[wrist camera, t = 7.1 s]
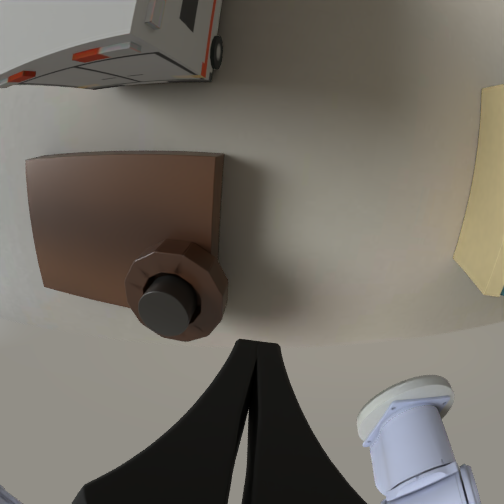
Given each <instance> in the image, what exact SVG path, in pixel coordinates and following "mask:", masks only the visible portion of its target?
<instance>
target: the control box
mask: <svg viewBox="0 0 504 504" xmlns="http://www.w3.org/2000/svg"><path fill="white" fill-rule="evenodd" d="M223 163H224V154H223V153H207V152H185V151H102V152H81V153H66V154H54V155H44V156H40V157H36V158H32V159H28V160H25V165H26V182H27V193H28V203H29V211H30V219H31V225H32V232H33V238H34V243H35V248H36V253H37V258H38V263H39V267H40V272H41V276H42V280H43V284H44V287H47V288H50V289H54V290H58V291H61V292H65V293H69V294H73V295H77V296H81V297H85V298H89V299H93V300H97V301H101V302H106V303H110V304H114V305H119V306H123V307H128V308H131V309H132V311H133V312H134V314H135V315H136V317H137V318H138V319H139V321H140V322H141V323H142V324H143V325H144V326H146V325H145V323H144V322H143V321H142V319H141V317H140V315H139V311H138V303H139V300H140V298H141V297H142V296H143V294H144V293H145V292H146V290H147V289H148V288H149V287H150V285H151V284H152V283H153V281H154V280H155V279H157V278H159V277H161V276H165V275H171V276H176V277H179V278H181V279H183V280H184V281H186V282H187V283H188V284H189V285H190V286H191V287H192V288H193V290H194V292H195V294H196V297H197V307H196V309H195V311H194V314H193V316H192V318H191V320H190V322H189V325H188V327H187V329H186V330H185V331H184V332H183V333H181V334H179V335H177V336H164V335H160V334H158V333H157V334H158V335H160V336H161V337H164V338H169V339H174V340H179V341H184V342H186V341H187V342H188V341H191V340H195V339H199V338H202V337H206V336H208V335H209V334H210V333H211V332H212V331H213V330H214V329H215V327H216V326H217V325H218V324H219V323H220V321H221V320H222V317H223V314H224V311H225V308H226V305H227V298H228V279H227V277H226V275H225V273H224V271H223V270H222V268H221V266H220V264H219V262H218V250H219V229H220V210H221V193H222V177H223ZM146 327H147V326H146ZM147 328H148V327H147ZM149 329H150V328H149ZM155 333H156V332H155Z"/></svg>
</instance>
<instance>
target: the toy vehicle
mask: <svg viewBox="0 0 504 504" xmlns="http://www.w3.org/2000/svg"><path fill="white" fill-rule="evenodd" d="M221 5H222V0H0V88H7V87H9V86H12V85H44V86H61V87H74V88H84V89H93V90H96V89H103V88H110V87H118V86H127V85H137V84H150V83H168V82H211V80H212V71H213V69H219V67H220V65H221V61H222V52H223V46H222V39H221V37H220V36H217V32H218V25H219V18H220V12H221Z"/></svg>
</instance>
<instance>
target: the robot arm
mask: <svg viewBox="0 0 504 504" xmlns="http://www.w3.org/2000/svg"><path fill="white" fill-rule="evenodd" d="M449 400H450V396H449V395H446V396H438V397H429V398H419V399H407V400H395V401H393V402H392V403H391V404H390V405H389V407H388V408H387V410H386V411H385V413H384V414H383V416H382V417H381V419H380V420H379V422H378V423H377V425H376V426H375V427H374V429H373V430H372V431H371V433H370V434H369V436H368V437H367V438H366V440H365V441H364V442H363V444H362V445H363V447H370V453H371V459H372V465H373V472H374V480H375V484H376V487H377V488H378V490H379V491H380V492H381V493H382V494H383V495H385V496H386V499H384V500H383V501H382V502H381V503H380V504H481V501H480V497H479V493H478V490H477V486H476V483H475V479H474V476H473V473H472V470H471V467H470V466H468V465H465V464H463V465H461V466H460V469H459V467H458V465H457V463H456V460H455V457H454V454H453V451H452V448H451V445H450V442H449V439H448V436H447V433H446V431H445V428H444V425H443V422H442V420H441V417H440V414H439V413H440V412H441V410H442V409H443V408H444V407H445V405H446V404H447V403H448V401H449ZM248 409H249V419H248V421H249V422H248V452H247V469H246V478H245V485H244V492H243V499H242V504H367V503H366V502H365V501H364V500H363V499H362V498H361V497H360V496H359V495H358V494H357V492H356V491H355V490H354V489H353V488H352V487H351V486H350V485H349V483H348V482H347V481H346V480H345V478H344V477H343V476H342V475H341V473H340V472H339V471H338V470H337V468H336V467H335V465H334V464H333V463H332V462H331V460H330V459H329V457H328V456H327V454H326V453H325V451H324V450H323V448H322V447H321V445H320V443H319V442H318V440H317V438H316V437H315V435H314V434H313V431H312V430H311V428H310V426H309V425H308V422H307V420H306V418H305V416H304V414H303V412H302V410H301V408H300V406H299V403H298V401H297V399H296V396H295V394H294V391H293V389H292V387H291V384H290V381H289V378H288V375H287V372H286V369H285V366H284V362H283V358H282V354H281V348H280V346H279V345H278V344H277V343H268V342H260V341H252V340H245V339H239V340H237V341H236V343H235V345H234V348H233V350H232V352H231V354H230V355H229V357H228V359H227V361H226V362H225V364H224V365H223V367H222V369H221V370H220V372H219V373H218V374H217V376H216V377H215V379H214V380H213V382H212V383H211V384H210V386H209V387H208V388H207V389H206V391H205V392H204V393H203V394H202V396H201V397H200V398H199V399H198V400H197V402H196V403H195V404H194V405H193V406H192V407H191V408H190V410H188V412H187V413H186V414H185V415H184V416H183V417H182V418H181V419H180V420H179V421H178V422H177V423H176V424H175V425H173V426H172V427H171V428H170V429H169V430H168V431H167V432H166V433H164V434H163V435H162V436H161V437H160V438H159V439H157V440H156V441H155V442H154V443H152V444H151V445H150V446H149V447H147V448H146V449H145V450H143V451H142V452H140V453H139V454H137V455H136V456H134V457H133V458H132V459H130V460H129V461H127V462H125V463H124V464H122V465H121V466H119V467H117V468H116V469H114V470H112V471H110V472H108V473H106V474H105V475H103V476H101V477H99V478H97V479H95V480H93V481H91V482H89V483H87V484H85V485H84V486H83V487H82V489H81V490H80V491H79V493H78V494H77V496H76V497H75V499H74V501H73V502H72V504H228V497H229V491H230V486H231V479H232V473H233V468H234V464H235V459H236V456H237V452H238V448H239V444H240V441H241V437H242V433H243V429H244V425H245V421H246V416H247V413H248ZM460 471H461V472H460ZM0 504H23V503H21V502H20V501H19V500H17V499H16V498H15V497H13V496H12V495H11V494H9V493H8V492H7V491H6V490H5V488H4V487H2V486H1V485H0Z"/></svg>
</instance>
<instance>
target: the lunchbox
mask: <svg viewBox="0 0 504 504" xmlns="http://www.w3.org/2000/svg"><path fill="white" fill-rule="evenodd" d="M453 259H454V260H455V261H456V262H457V264H458V265H459V266H460V267H461V268H462V269H463V270H464V272H465V273H466V274H467V275H468V276H469V278H470V279H471V280H472V281H473V282H474V284H475V285H476V286H477V287H478V289H479V290H480V291H481V292H482V294H483V295H488V296H494V297H499V296H500V295H503V296H504V84H501V85H497V86H492V87H487V88H483V89H482V96H481V117H480V130H479V139H478V148H477V156H476V162H475V169H474V175H473V180H472V186H471V191H470V196H469V200H468V205H467V209H466V213H465V217H464V221H463V225H462V229H461V232H460V236H459V239H458V243H457V246H456V250H455V253H454V256H453Z"/></svg>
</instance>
